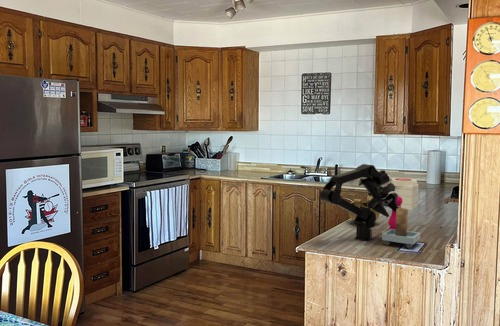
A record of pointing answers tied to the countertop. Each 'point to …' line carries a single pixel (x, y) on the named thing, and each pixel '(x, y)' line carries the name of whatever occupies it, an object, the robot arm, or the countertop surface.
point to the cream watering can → (406, 191)
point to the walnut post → (401, 222)
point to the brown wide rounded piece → (364, 204)
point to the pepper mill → (394, 214)
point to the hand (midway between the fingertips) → (393, 214)
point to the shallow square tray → (401, 238)
